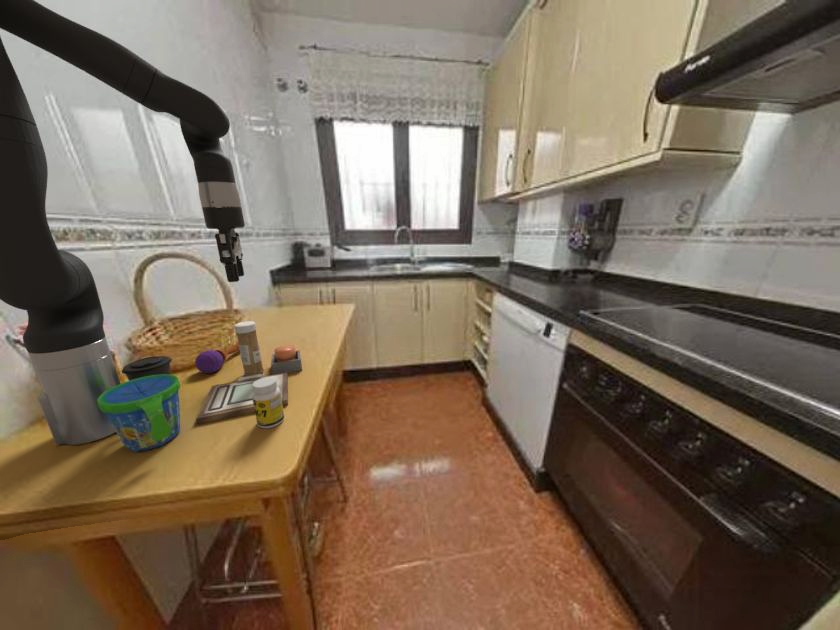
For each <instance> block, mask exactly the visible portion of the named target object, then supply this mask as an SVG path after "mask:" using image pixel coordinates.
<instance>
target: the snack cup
mask: <svg viewBox="0 0 840 630" xmlns="http://www.w3.org/2000/svg"><path fill="white" fill-rule="evenodd" d="M120 383H121V382H120ZM180 389H181V382H180V378H179V377H178V376H176V375H173V374H171V375H169V374H160V375H151V376H146V377H141V378H137V379H134V380H130V381H129V380H128V381H124V382H122V383H121V384H119V385H117V386H114V387H112V388H110V389H108V390H107V391H105V392H104V393H102V394H101V395H100V396H99V397H98V399H97V403H98V407H99V409H100V410H101V411H102V412H104V413H105V414H106V415H107V417H108V419H109V421H110V422H111V424H112V426H113V427H114V429H115V431H116V432H115V433H116V434H117V435H118V437H119V439H120V441H121V442H122V443H123V445H124V446H125V448H126V449H128V450H130V451H132V452H134V453H137V452H138V453H139V452H140V451H147V450H151V449H155V448H158V447H162V446H163V445H165V444H166V443H168V442H170V441H171V440H172V439H174V438H175V437H176V436H177V435H178V434H179V433H180V432H181V412H180V410H181V409H180V395H179V391H180Z"/></svg>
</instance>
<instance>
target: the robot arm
mask: <svg viewBox="0 0 840 630" xmlns="http://www.w3.org/2000/svg"><path fill="white" fill-rule="evenodd" d="M0 30H3V31H5V32H7V33H9V34H11V35H14V36H15V37H17V38H19V39H21V40H23V41H25V42H28V43H29V44H31V45H33V46H35V47H37V48H39V49H42V50H43V51H45V52H48V53H49V54H51V55H53V56H55V57H58V58H59V59H61V60H63V61H65V62H66V63H67V64H70V65H71V66H74V67H76V68H77V69H79V70H81V71H83V72H85V73H87V74H88V75H90V76H91V77H93V78H95V79H97V80H98V81H101V82H102V83H103V84H106V85H107V86H109V87H110V88H113V89H114V90H116V91H117V92H118V93H121V94H122V95H124V96H126V97H128V98H130V99H131V100H132V101H135V102H136V103H138V104H140V105H141V106H143V107H145V108H147V109H150V110H151V111H153V112H155V113H165V114H166V113H167V114H168V115H169V114H170V115H171V116H173V117H175V118H177V119H178V120H179V124H180V125H179V126H180V129H181V134H182V137H183V139H184V142H185V145H186V147H187V149H188V152H189V154H190V156H191V158H192V160H193V166H194V172H195V175H196V181H197V185H198V196H199V201H200V205H201V209H202V214H203V218H204V223H205V227H206V228H207V229H209V230H215V229H217V230H218V233H215V234H214V237H215V242H216V245H217V246H216V247H217V250H218V256H219V262H220V264H222V265H223V266H224V269H225V274H226V279H227V282H229V283H236V282H239V281H240V278H241V277H243V276H244V275H245V272H244V266H243V256H244V255H243V254H244V253H243V249H242V246H241V238H240V234H239V233H238V232H236V231H235V229H240V228H241V229H242V228H245V226H246V225H245V220H244V214H243V209H242V203H241V197H240V194H239V190H238V188H237V183H236V178H235V172H234V168H233V167H234V166H233V165H232V164H233V163H232V161H231V159H230V158H229V157H228V156H227V155H225V154H224V152H223V149H222V145H221V142H220V139H221V138H223V137H225V136H226V135H227V134H228V133H229V131H230V127H231V122H230V119H229V116H228V114H227V112H226V111H225V109H224V108H223V107H222V106H221V105H220V104H219V103H218V102H217V101H216V100H214V99H213V98H211V97H210V96H209V95H207V94H205V93H204V92H202V91H199V90H197V89H196V88H193V86H189V85H188V84H187V83H184V82H182V81H180V80H178V79H175V78H173V77H171V76H169V75H166V74H165V73H164V72H162V70H160V69H158V68H157V67H156V66H154V65H152V64H151V63H149V62H148V61H147V60H145V59H143V57H140V56H139V55H137V54H136V53H134V52H133V51H131V50H130V49H129V48H127V47H125V46H124V45H122V44H120V43H119V42H117V41H116V40H113V39H112V38H110V37H108V36H106V35H104V34H102V33H100V32H98V31H96V30H93V29H91V28H89V27H86V26H84V25H82V24H80V23H78V22H76V21H73V20H71V19H69V18H68V17H64V16H63V15H61V14H59V13H57V12H55V11H53V10H52V9H50V8H48V7H46V6H45V5H43V4H41V3H39V2H38V1H36V0H0ZM34 117H35V116H34V115H33V112H32V110H31V107H30V104H29V101H28V99H27V96H26V94H25V92H24V89H23V87H22V84H21V82H20V80H19V77H18V74H17V73H16V70H15V67H14V65H13V63H12V61H11V59H10V57H9V55H8V52H7V50H6V47H5V44H4V43H3V39H2V37H1V35H0V300H1V301H2V302H3V303H4V304H7V305H9V306H10V307H13V308H16V309H19V310H23V311H26V313H27V317H28V318H27V319H28V320H27V327H26V329H25V330H24V333H23V335H22V340H23V344H24V346H25V349H26V351H27V354H28V356H29V359H30V363H32V367H33V369H34V372H35V374H36V377H37V379H38V381H39V382H38V383H39V384H40V386H41V389H42V392H41V393H40V394H39V395H38V396H37V401H38V403H39V407H40V408H41V411H42V413H43V416H44V418H45V421H46V424H47V426H48V429H49V431H50V434H51V436H52V439H53V440H54V444H55V445H56V446H59V445H69V446H70V445H71V446H76V445H83V444H89V443H91V442H96V441H98V440H101V439H104V438H107V437H108V436H111V435H113V434H115V433H117V432H116V431H115V429H114V427H113V426H112V424H111V422H110V421H109V419H108V417H107V415H106V414H105V413H104V412H102V411H101V410H100V409H99V407H98V403H97V399H98V397H99V396H100V395H101V394H102V393H104V392H105V391H107V390H108V389H110V388H112V387H114V386H117V385H119V384H121V381H120V377H119V374H118V372H117V371H118V370H117V369H116V365H115V361H114V359H113V355H112V352H111V350H110V347H109V343H108V341H107V337H106V332H105V330H104V320H105V319H104V318H105V316H104V311H103V307H102V304H101V301H100V296H99V292H98V289H97V286H96V285H97V284H96V282H95V279H94V276H93V273H92V271H91V270H90V267H89V266H88V265H87V263H85V261H84V260H82V258H80V257H78V256H77V255H75V254H74V253H71V252H69V251H66V250H62V249H58V247H57V244H56V242H55V239H54V236H53V234H52V231H51V229H50V226H49V222H48V217H47V212H46V210H47V208H46V199H47V189H48V178H49V177H48V174H49V172H48V171H49V170H48V168H49V167H48V161H47V160H48V159H47V156H46V151H45V148H44V145H43V142H42V138H41V136H40V135H41V134H40V132H39V129H38V127H37V123H36V120H35V118H34Z"/></svg>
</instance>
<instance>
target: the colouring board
mask: <svg viewBox="0 0 840 630" xmlns="http://www.w3.org/2000/svg"><path fill="white" fill-rule="evenodd" d="M267 377H272V378H275V379H276V382H277V387H278V388H279V389H280V393H281V399H282V405H283V407H285V406H289V381H288V380H289V378H288V377H289V376H288V373H281V374H276V375H273V374H271V375H266V376H265V375H264V376H263V373H261V374H258V375H252V376H241V377H238V379H237V381H234V382H233V381H232V382H227V383H225V382H224V383H221V384H215V385H212V386H211V387H210V389H209V391H208V394H207V396H206V397H205V399H204V402H203V404H202V405H201V408H200V410H199V412H198V414H197V417H195V418H196V422H197V423H196V424H197V425H200V424H204V423H209V422H215V421H219V420H224V419H229V418H233V417H236V416H243V415H247V414H252V413H255V410H254V404H253V399H252V395H253V393H254V392H253V386H252V384H253V383H254V382H255V381H257V380H259V379H262V378H267Z"/></svg>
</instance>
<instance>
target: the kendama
mask: <svg viewBox="0 0 840 630" xmlns="http://www.w3.org/2000/svg"><path fill="white" fill-rule="evenodd" d="M238 352H240V349H239V343H238V342H237V343H235V344H234V345H233V346H231V347H229V348H228V349H227V350H226V351H223V350H220V349H207V350H203V351H202V352H199V354H198V355H197V357H196V358H195V361H194V364H195V367H196V369H197V370H198V371H199V372H201V373H203V374H213V373H216V372H218V371H219V370H220V369H221V367H222V366H223V364H225V361H226V360H227V357H228V355H232V354H234V353H235V354H236V353H238Z"/></svg>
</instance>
